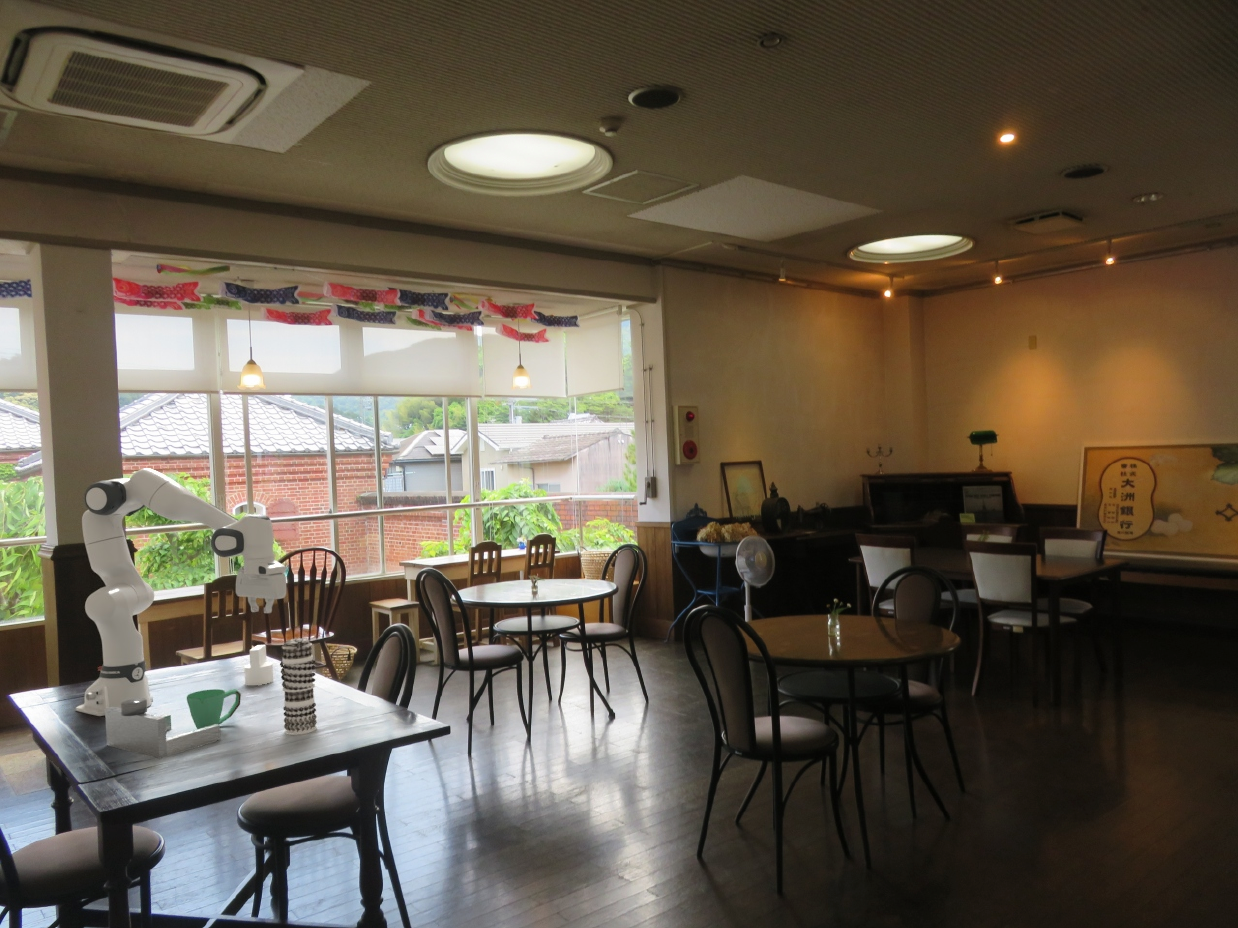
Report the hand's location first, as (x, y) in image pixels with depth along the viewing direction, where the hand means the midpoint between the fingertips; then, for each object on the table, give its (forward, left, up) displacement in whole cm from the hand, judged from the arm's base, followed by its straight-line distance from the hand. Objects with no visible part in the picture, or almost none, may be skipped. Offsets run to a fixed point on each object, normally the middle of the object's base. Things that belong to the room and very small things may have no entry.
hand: (261, 612), depth 275 cm
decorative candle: (+28, -16, -29) cm, 44 cm away
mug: (+1, -20, -29) cm, 36 cm away
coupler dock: (-2, -36, -29) cm, 46 cm away
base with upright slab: (-27, +25, -29) cm, 47 cm away
